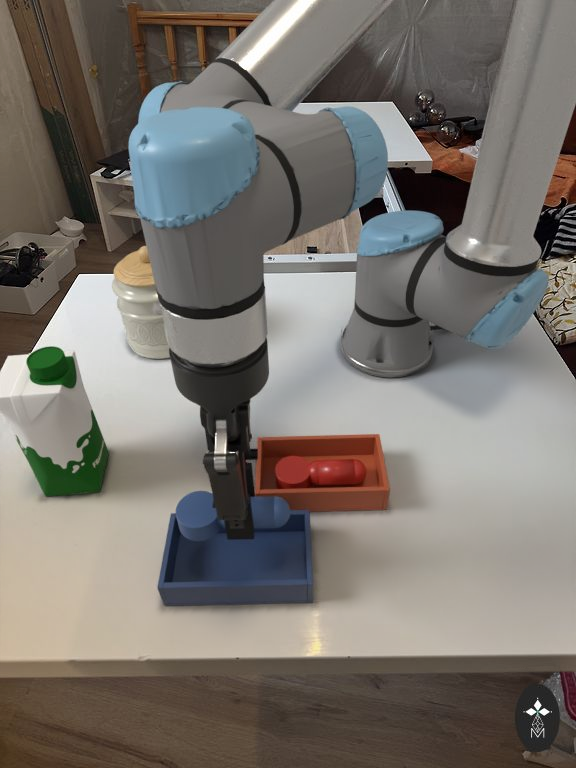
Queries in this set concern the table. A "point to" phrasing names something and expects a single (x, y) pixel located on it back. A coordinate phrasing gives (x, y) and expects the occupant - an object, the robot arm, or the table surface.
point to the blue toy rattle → (203, 521)
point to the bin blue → (239, 566)
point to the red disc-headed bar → (317, 472)
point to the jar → (140, 305)
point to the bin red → (326, 447)
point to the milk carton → (53, 421)
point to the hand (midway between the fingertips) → (242, 519)
